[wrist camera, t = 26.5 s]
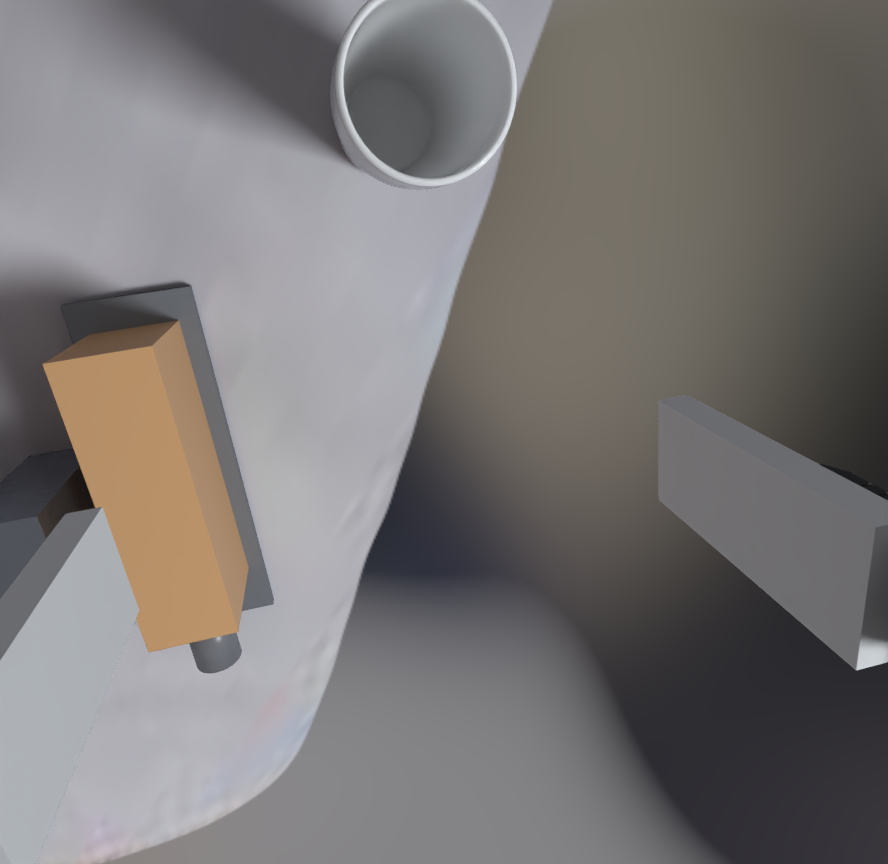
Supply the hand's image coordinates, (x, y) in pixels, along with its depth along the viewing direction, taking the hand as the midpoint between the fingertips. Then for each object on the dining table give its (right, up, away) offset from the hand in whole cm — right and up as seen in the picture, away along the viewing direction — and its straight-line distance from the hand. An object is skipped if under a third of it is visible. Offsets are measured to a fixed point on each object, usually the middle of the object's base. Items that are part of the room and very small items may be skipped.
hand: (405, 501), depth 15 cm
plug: (-16, -2, +26) cm, 30 cm away
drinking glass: (-3, +19, +22) cm, 29 cm away
